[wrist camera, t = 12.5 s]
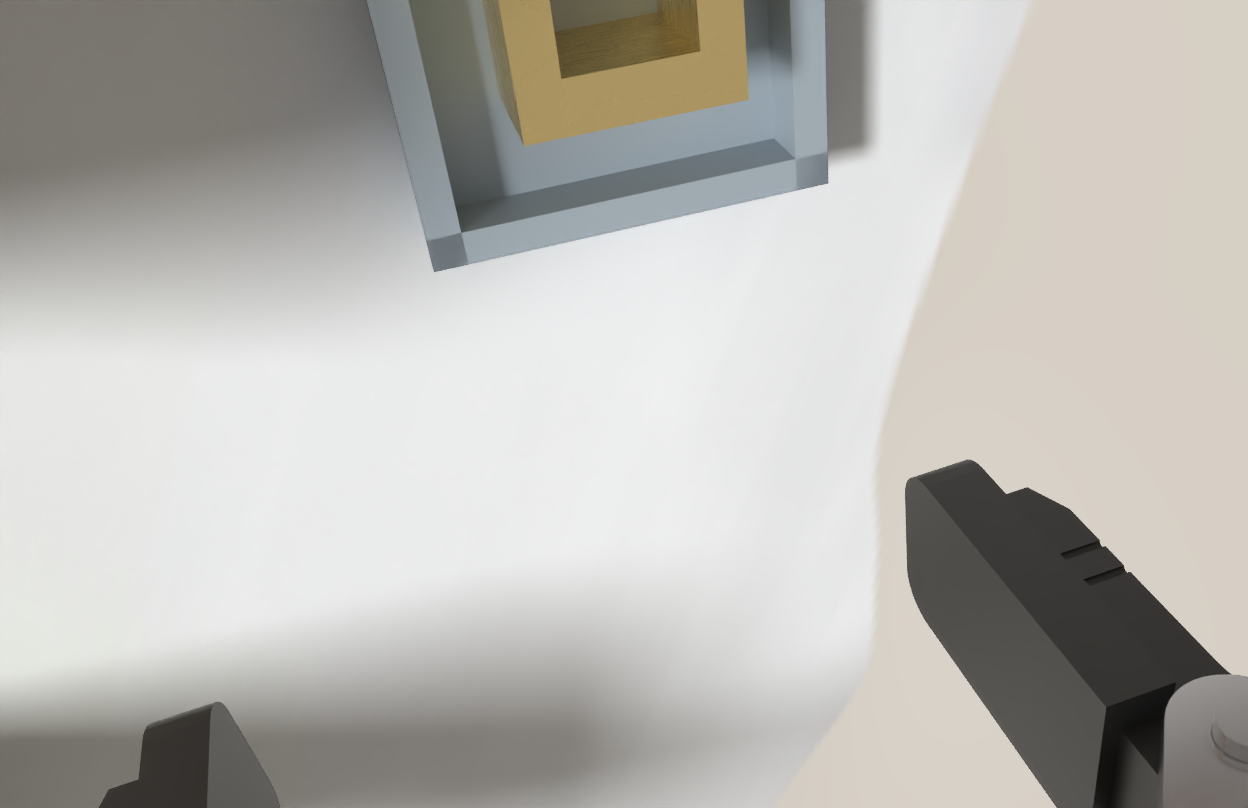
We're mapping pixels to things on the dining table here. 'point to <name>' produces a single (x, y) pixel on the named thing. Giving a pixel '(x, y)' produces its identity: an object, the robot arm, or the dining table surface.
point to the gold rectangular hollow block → (614, 65)
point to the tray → (598, 161)
